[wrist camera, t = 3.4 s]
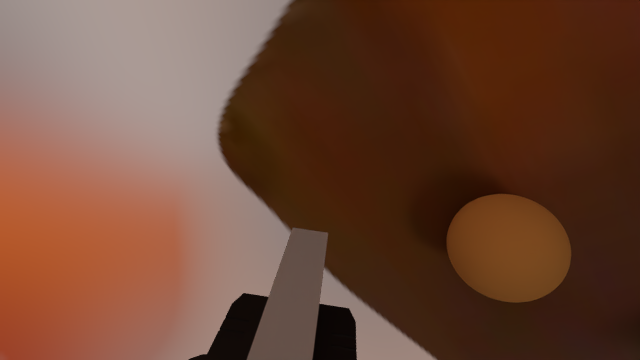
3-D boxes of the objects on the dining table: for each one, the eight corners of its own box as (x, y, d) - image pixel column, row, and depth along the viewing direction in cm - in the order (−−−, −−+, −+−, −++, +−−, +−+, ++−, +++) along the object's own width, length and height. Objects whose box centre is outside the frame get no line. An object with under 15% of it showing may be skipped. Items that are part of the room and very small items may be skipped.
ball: (545, 186, 17) (626, 235, 12) (513, 265, 19) (571, 337, 14) (448, 173, 18) (487, 215, 13) (426, 252, 20) (452, 317, 14)
